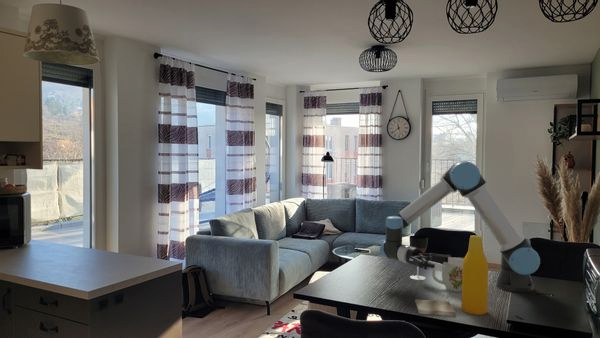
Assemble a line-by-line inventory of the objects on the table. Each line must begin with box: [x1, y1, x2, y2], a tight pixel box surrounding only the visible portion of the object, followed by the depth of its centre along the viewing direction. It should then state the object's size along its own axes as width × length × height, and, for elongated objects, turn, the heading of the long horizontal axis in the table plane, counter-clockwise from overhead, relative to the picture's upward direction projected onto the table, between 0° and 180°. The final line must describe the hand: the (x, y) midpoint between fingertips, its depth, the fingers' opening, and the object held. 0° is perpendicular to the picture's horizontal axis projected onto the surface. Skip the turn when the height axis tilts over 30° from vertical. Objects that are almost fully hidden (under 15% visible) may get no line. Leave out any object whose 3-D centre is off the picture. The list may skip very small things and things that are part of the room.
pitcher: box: [431, 256, 465, 292], centre depth 193 cm, size 11×18×14 cm, turn 86°
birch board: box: [415, 298, 456, 317], centre depth 167 cm, size 13×12×2 cm
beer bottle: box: [461, 234, 489, 316], centre depth 166 cm, size 9×9×29 cm
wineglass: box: [408, 235, 429, 281], centre depth 211 cm, size 8×9×20 cm
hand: (452, 265), depth 173 cm, fingers open, 13 cm apart
